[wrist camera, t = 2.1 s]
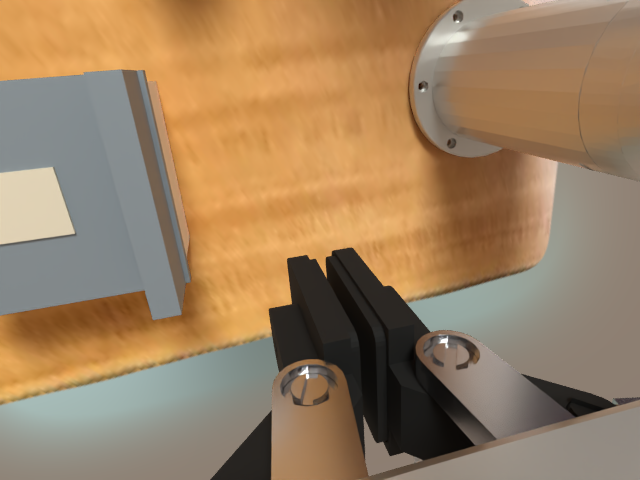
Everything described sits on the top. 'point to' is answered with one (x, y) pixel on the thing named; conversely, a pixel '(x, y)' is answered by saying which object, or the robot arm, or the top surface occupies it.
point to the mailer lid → (86, 195)
